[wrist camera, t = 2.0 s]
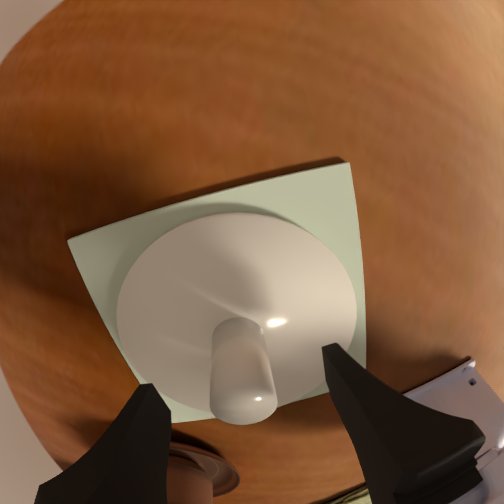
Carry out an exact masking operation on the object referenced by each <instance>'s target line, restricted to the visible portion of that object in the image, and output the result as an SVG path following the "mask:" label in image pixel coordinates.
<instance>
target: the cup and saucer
mask: <svg viewBox="0 0 504 504" xmlns="http://www.w3.org/2000/svg"><path fill="white" fill-rule="evenodd" d="M166 483H167V503H168V504H213V497H218V496H221V495H224V494H227V493H229V492H231V491H233V490H234V489H235V488H236V487H237V486H238V485H239V483H240V476H239V474H238V471H237V470H236V468H235V467H234V466H233V465H232V464H231V463H229V462H228V461H226V460H225V459H223V458H222V457H220V456H218V455H216V454H214V453H212V452H209V451H207V450H204V449H201V448H198V447H195V446H191V445H187V444H183V443H178V442H172V441H170V449H169V458H168V466H167V479H166Z"/></svg>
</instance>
